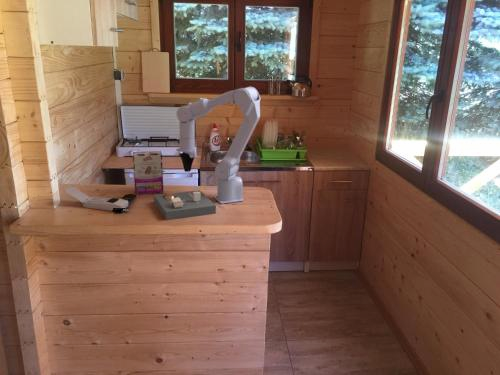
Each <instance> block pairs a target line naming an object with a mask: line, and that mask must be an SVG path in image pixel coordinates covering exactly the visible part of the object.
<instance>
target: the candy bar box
mask: <svg viewBox="0 0 500 375" xmlns="http://www.w3.org/2000/svg"><path fill="white" fill-rule="evenodd" d="M132 163H133V164H132V165H133V179H134V180H133V182H134V194H135V195H149V194H150V195H151V194H164V179H163V178H164V174H163V173H164V172H163V171H164V170H163V154H162V151H161V150H156V151H155V150H154V151H149V150H148V151H133V152H132Z"/></svg>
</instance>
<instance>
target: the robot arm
mask: <svg viewBox="0 0 500 375" xmlns="http://www.w3.org/2000/svg"><path fill="white" fill-rule="evenodd" d="M260 102H261V96H260V93H259V91H258V90H257V89H256V88H255V87H253V86H247V87H239V88H237V89H233V90H229V91H226V92H224V93H222V94H219V95H217V96H215V97H213V98H211V99H208V98H203V97H199V98H197V101H194V102H188V103H187V105H184V106H183V105H182V106H180V107H179V108H178V109H177V111H176V117H177V119H178V122H179V125H178V126H179V148H176V151H177V152H179V154H178V155H179V157H180V160H181V162H182V167H183V170H184V172H185V173H186V172H187V173H188V172H191V171H192V167H193V162H194V160H195V158H196V156H197V155H196V147H195V146H196V145H195V140H196V139H195V138H196V137H195V135H196V134H195V120H196V119H197V118H200V117H203V116H206V115H208V114H211V113H212V111H213V108H215V107H219V106H222V105H225V104H227V103H231V104H236V106H237V107H238V108H239V109H240V111H241V113H242V115H243V117H244V118H243V119H242V122H241V124H240V125H239V128H238V130H237V131H236V134H235V136H234V138H233V140H232V142H231V145H230V146H229V148H228V150H227V152H226V154H225V155H224V157H223V158H222V160H221V161H220V162H219V163H218V164H217V165H216V166H215V169H214V173H215V176H216V177H217V191H216V192H217V194H216V195H214V196H213V199H215V200H216V201H217V202H218V203H219V204H221V205H222V204H229V203H231V204H232V203H237V202H243V201H244V199H243V194H244V193H243V191H244V190H243V188H244V185H243V179H242V177H240V176H237V172H239V169H240V166H239V165H240V162H241V156H242V154H243V153H244V151H245V148H246V146H247V145H248V142H249V140H250V138H251V136H252V135H253V133H254V131H255V128H256V126H257V124H258V122H259V120H260V118H261V105H260Z"/></svg>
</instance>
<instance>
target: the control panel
mask: <svg viewBox="0 0 500 375" xmlns="http://www.w3.org/2000/svg"><path fill="white" fill-rule="evenodd" d="M198 191H199V192H200V193H201V201H193V192H198ZM166 194H167V193H159V194H154V195H153V203H154V205H155V206H156V208H157V209H158V210H159V212H160V213H161V215H162V217H163V218H164V219H165V220H166V221H169V220H176V219H184V218H191V217H198V216H208V215H214V214H216V213H217V205H216V204H215V203H214V201H212V200H211V199H210V198H208V197H207V196H206V195H205V194H204V192H202V191H201V190H199V189H198V190H189V191H182V192H181V191H179V192H171V193H169V194H173V195H175V198H177V197H179V198H180V199H181V201H182V203H183V207H176V208H175V207H174V205H173V204H172V201H171V199H167V200H165V195H166Z"/></svg>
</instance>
